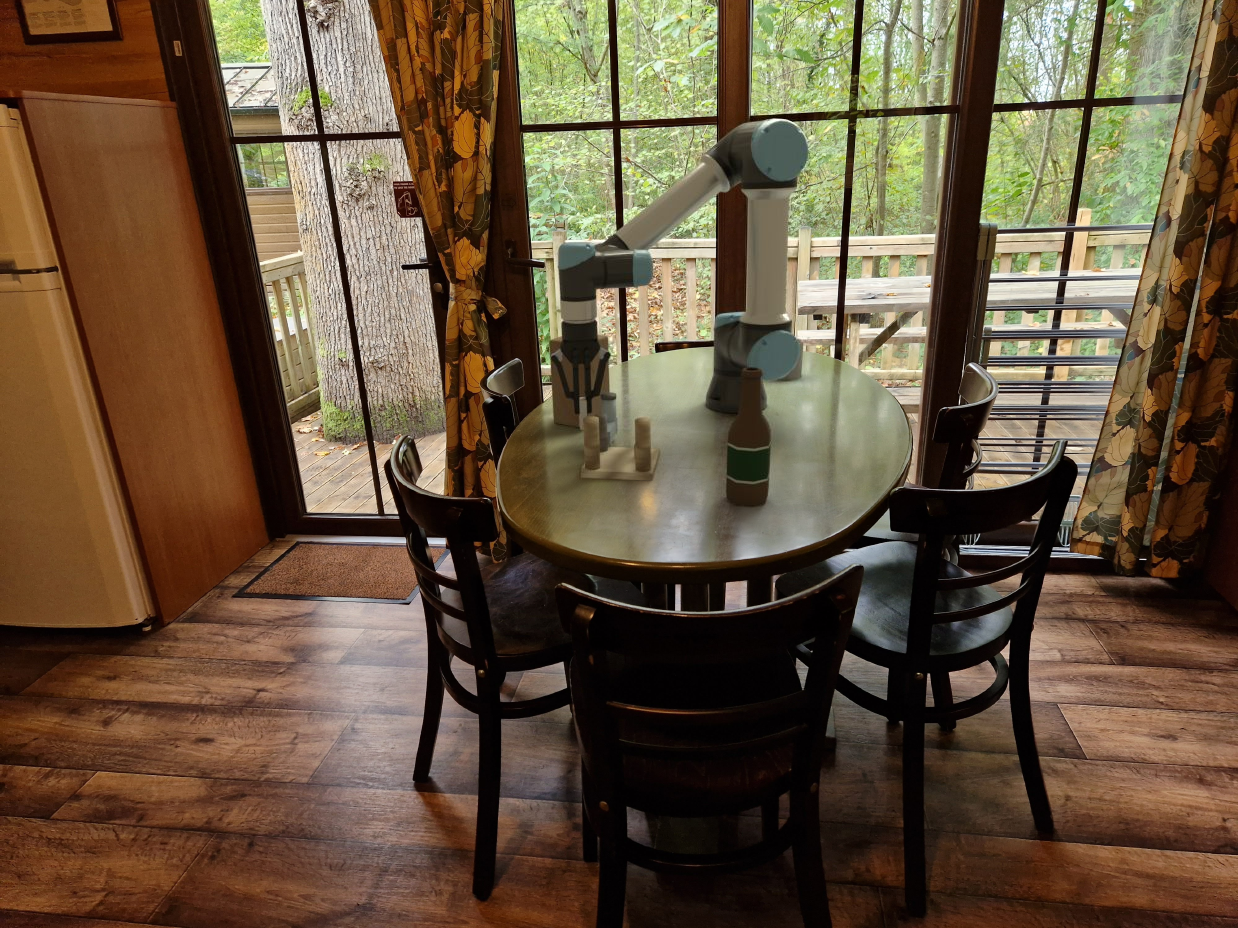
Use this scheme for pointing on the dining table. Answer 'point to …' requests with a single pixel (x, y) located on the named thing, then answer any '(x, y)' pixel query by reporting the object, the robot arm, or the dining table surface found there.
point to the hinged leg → (610, 414)
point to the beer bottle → (749, 446)
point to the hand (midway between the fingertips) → (583, 427)
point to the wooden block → (563, 405)
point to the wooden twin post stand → (618, 452)
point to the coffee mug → (798, 368)
